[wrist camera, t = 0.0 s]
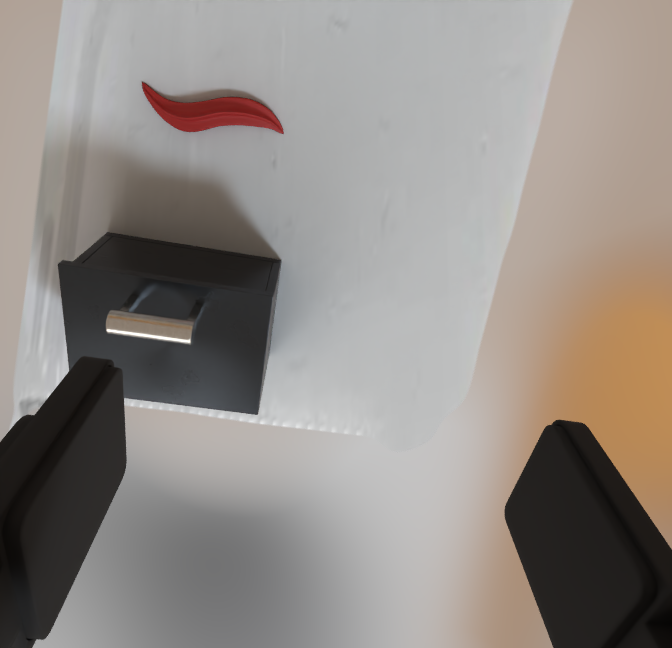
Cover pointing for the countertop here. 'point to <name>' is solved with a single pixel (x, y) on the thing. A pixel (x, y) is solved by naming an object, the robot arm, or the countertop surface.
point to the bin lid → (169, 334)
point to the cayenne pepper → (212, 112)
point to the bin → (187, 265)
